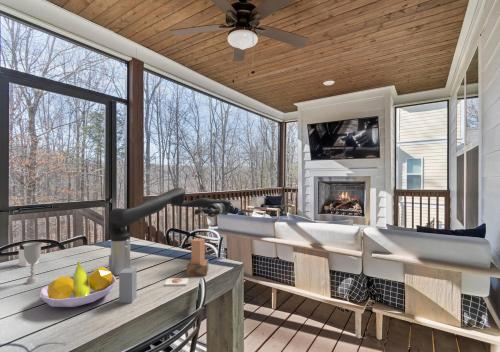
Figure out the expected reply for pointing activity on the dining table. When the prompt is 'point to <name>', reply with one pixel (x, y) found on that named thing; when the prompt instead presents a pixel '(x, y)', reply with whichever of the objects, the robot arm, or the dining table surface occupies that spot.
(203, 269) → the walnut plinth
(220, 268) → the dining table surface
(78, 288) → the fruit bowl
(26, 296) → the dining table surface
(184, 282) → the card
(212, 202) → the robot arm
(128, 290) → the grey block
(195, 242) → the terracotta block
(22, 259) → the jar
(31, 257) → the chalice
